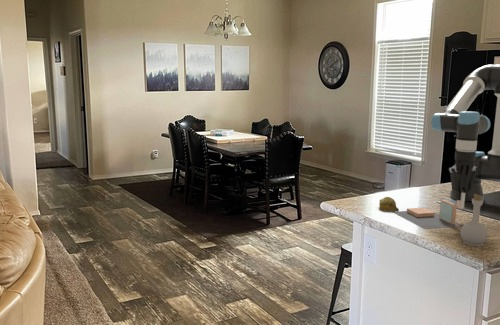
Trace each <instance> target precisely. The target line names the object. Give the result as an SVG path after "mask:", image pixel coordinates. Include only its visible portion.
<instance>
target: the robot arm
mask: <svg viewBox="0 0 500 325" xmlns="http://www.w3.org/2000/svg"><path fill="white" fill-rule="evenodd" d="M486 90H487V91H489V90H490V91H493V92H494V94H493V95H495V96H496V97H497V100H496V107H495V119H494V127H493V136H492V144H491V145H492V146H491V150H489V151H488V152H487V155H486V154H485V152H484V151H478V150H477V146H478V135H482V134H484V133H486V132H487V131H488V130H490V128H491V120H490V118H488V117H487V116H486V115H484V114H480V112H479V111H472V110H471V111H467V110H468V109H469V107H470V106H471V105H472V103H473V102H474V101H475V99H476V98H477V97H478V95H480V94H482V93H483V92H484V91H486ZM430 125H431V129H432V130H434V131H439V132H449V133H451V132H452V133H456V139H455V151H454V160H455V161H454V163H453V166H450V167H448V168H447V169H448V173H449V176H450V182H451V190H450V192H449V198H451V199H453V200H456V205H457V208H456V209H460V210H464V209H465V202H468V201H472V199H473V198H474V194H477V195H480V196H482V200H483V201H484V199H485V195H484V194H485V193H484V191H483V187H482V180H483V181H489V182H490V181H491V182H496V183H500V64H499V63H497V64H493V63H492V64H491V63H490V64H486V65H483V66H482V65H481V67H478V68H476V69H475V70H473V71H472V72H470V73H469V74H468V75H467V76H466V77H465V79H464V80H463V83H462V86H461V87H460V89H459V91H458V92H457V93H456V95H454V96H453V98H452V100H451V101H450V102H449V104H448V105H447V106H446V108H445V109H444V110H443V111H442V112H437V113H434V114H432V117H431V118H430Z"/></svg>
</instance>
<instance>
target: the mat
mask: <svg viewBox="0 0 500 325" xmlns="http://www.w3.org/2000/svg"><path fill="white" fill-rule="evenodd" d="M392 213H393V214H395V215H396V216H399V217H400V218H403V219H405V221H408V222H410V223H412V224H414V225H416V226H418V227H419V228H421V229H424V230H429V229H431V230H432V229H443V228H444V229H446V228H448V229H449V228H462V227H463V225H464V224H461V223H460V222H456V221H455V224H450V223H447V222H445V221H443V220H441V219H439V215H440V213H437V212H434V213H435V215H434V216H430V217H416V216H414V215H412V214H410V213H408V212H407V210H403V211H402V210H401V211H400V210H397V211H396V212H392Z"/></svg>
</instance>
